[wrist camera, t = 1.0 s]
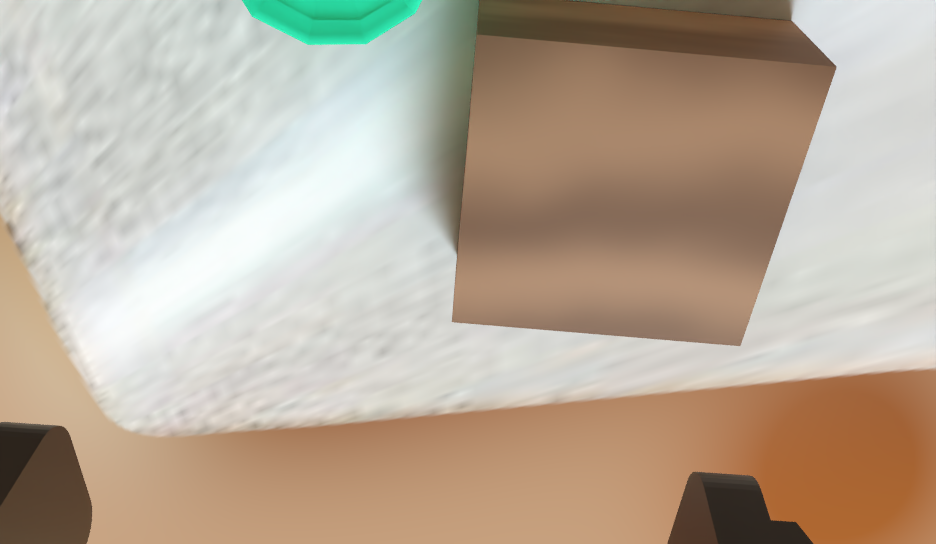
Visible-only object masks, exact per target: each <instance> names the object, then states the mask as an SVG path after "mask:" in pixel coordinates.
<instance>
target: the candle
mask: <svg viewBox="0 0 936 544" xmlns="http://www.w3.org/2000/svg"><path fill="white" fill-rule="evenodd" d="M242 1H243V3H244V4H245V6H246V7H247V9H248V11H249V12H250V14H251V15H252V17H254V18H256V19H258V20H260V21H262V22H264V23H266V24H268V25H270V26H272V27H274V28H276V29H278V30H280V31H282V32H284V33H286V34H288V35H290V36H292V37H294V38H296V39H298V40H300V41H302V42H304V43H306V44H308V45H324V44H367V43H369V42H370V41H372V40H373V39H375V38H377V37H378V36H380V35H381V34H383V33H385V32H386V31H388V30H389V29H391V28H393V27H394V26H396V25H397V24H399V23H401V22H402V21H404V20H405V19H407V18H409V17H410V16H412V15H413V14H415V13H416V11H417V9H418V7H419V5H420V3H421V2H422V0H242Z"/></svg>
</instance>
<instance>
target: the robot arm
mask: <svg viewBox="0 0 936 544" xmlns="http://www.w3.org/2000/svg"><path fill="white" fill-rule="evenodd" d="M91 522H92V505H91V500H90V497H89V494H88V490H87V487H86V484H85V481H84V478H83V475H82V472H81V469H80V466H79V462H78V459H77V456H76V453H75V450H74V447H73V444H72V440H71V437H70V435H69V433H68V431H67V430H66V429H65V428H64V427H62V426H54V425H40V424H25V423H11V422H1V423H0V544H86V543H87V541H88V537H89V533H90V529H91ZM668 544H813V543H812V541H811V540H810V539H809V538H808V537H807V535H806V534H805V533H804V532H803V530H802V529H801V528H800V527H799V525H798V524H797V523H796V522H786V521H771V520H770V517H769V514H768V511H767V507H766V504H765V501H764V498H763V495H762V492H761V489H760V486H759V484H758V482H757V481H756V480H755V478H754V477H752V476H748V475H733V474H718V473H704V472H693V473H692V474H691V475H690V476H689V478H688V481H687V484H686V487H685V491H684V493H683V497H682V500H681V503H680V506H679V509H678V512H677V515H676V519H675V522H674V525H673V528H672V531H671V534H670V537H669V540H668Z"/></svg>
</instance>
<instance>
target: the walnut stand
mask: <svg viewBox="0 0 936 544" xmlns="http://www.w3.org/2000/svg"><path fill="white" fill-rule="evenodd" d="M835 70H836V66H835V65H834V64H833V63H832V62H831V61H830V60H829V58H828V57H827V56H826V55H825V54H824V53H823V52H822V51H821V50H820V49H819V48H818V47H817V46H816V45H815V44H814V43H813V42H812V41H811V40H810V39H809V38H808V37H807V36H806V35H805V34H804V33H803V32H802V31H801V30H800V29H799V28H798V27H797V26H796V25H795V24H794V23H793V22H792V21H787V20H776V19H765V18H754V17H743V16H732V15H721V14H710V13H699V12H688V11H677V10H666V9H655V8H644V7H633V6H622V5H611V4H600V3H589V2H578V1H567V0H479V10H478V22H477V33H476V45H475V56H474V68H473V79H472V91H471V102H470V114H469V125H468V137H467V148H466V160H465V171H464V183H463V194H462V206H461V217H460V229H459V240H458V252H457V264H456V277H455V289H454V302H453V315H452V322H457V323H469V324H481V325H493V326H505V327H517V328H529V329H541V330H553V331H565V332H577V333H589V334H601V335H613V336H625V337H637V338H650V339H662V340H674V341H686V342H698V343H710V344H722V345H734V346H740V345H741V342H742V339H743V337H744V334H745V331H746V328H747V325H748V322H749V319H750V316H751V313H752V310H753V308H754V305H755V302H756V299H757V296H758V293H759V290H760V287H761V284H762V282H763V279H764V276H765V273H766V270H767V267H768V264H769V261H770V258H771V255H772V253H773V250H774V247H775V244H776V241H777V238H778V235H779V232H780V229H781V227H782V224H783V221H784V218H785V215H786V212H787V209H788V206H789V203H790V200H791V198H792V195H793V192H794V189H795V186H796V183H797V180H798V177H799V174H800V172H801V169H802V166H803V163H804V160H805V157H806V154H807V151H808V148H809V145H810V143H811V140H812V137H813V134H814V131H815V128H816V125H817V122H818V119H819V117H820V114H821V111H822V108H823V105H824V102H825V99H826V96H827V93H828V90H829V88H830V85H831V82H832V79H833V76H834V73H835Z"/></svg>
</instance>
